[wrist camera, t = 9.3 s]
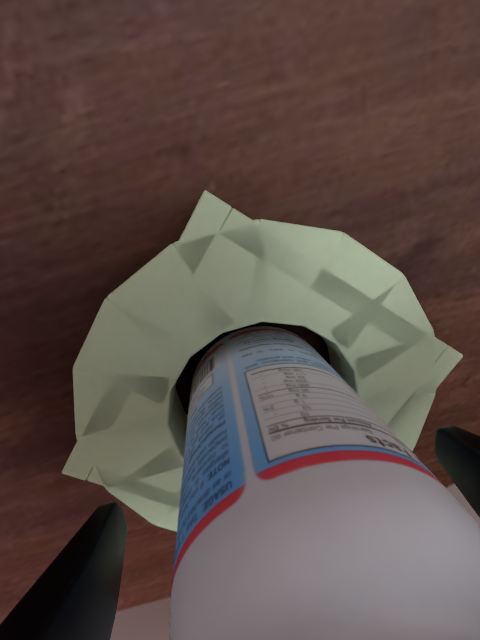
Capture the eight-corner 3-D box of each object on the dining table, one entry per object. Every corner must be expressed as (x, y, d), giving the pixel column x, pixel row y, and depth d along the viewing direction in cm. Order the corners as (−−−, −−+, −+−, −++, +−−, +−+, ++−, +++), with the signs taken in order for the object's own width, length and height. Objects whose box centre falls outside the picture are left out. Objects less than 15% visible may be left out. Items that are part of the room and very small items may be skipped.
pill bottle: (241, 458, 14) (352, 1219, 3) (163, 373, 12) (-212, 1559, 1) (344, 394, 13) (892, 1046, 3) (280, 293, 11) (1314, 1187, 1)
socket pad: (450, 323, 13) (505, 343, 10) (293, 519, 16) (309, 570, 13) (191, 149, 9) (186, 122, 7) (53, 437, 12) (16, 486, 10)
